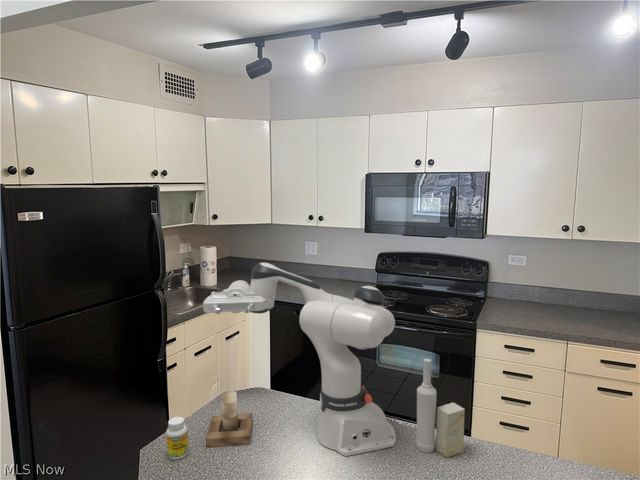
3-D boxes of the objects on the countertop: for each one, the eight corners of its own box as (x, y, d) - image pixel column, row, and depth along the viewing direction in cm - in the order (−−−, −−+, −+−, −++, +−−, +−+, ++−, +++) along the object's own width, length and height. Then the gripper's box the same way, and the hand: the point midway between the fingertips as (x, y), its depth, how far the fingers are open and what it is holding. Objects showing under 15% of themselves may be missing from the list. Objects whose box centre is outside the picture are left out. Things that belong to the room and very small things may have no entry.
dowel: (238, 428, 125) (237, 390, 123) (237, 437, 120) (236, 397, 119) (223, 429, 124) (222, 391, 123) (222, 438, 120) (220, 398, 118)
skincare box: (446, 458, 110) (448, 414, 108) (434, 449, 114) (435, 407, 112) (464, 451, 113) (465, 408, 111) (452, 442, 117) (453, 401, 115)
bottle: (420, 439, 118) (421, 354, 115) (437, 446, 115) (440, 359, 112) (412, 448, 114) (414, 361, 111) (430, 455, 111) (433, 365, 108)
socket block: (252, 420, 129) (252, 413, 128) (249, 444, 117) (249, 435, 116) (212, 423, 127) (212, 415, 127) (205, 447, 116) (205, 438, 115)
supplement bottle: (185, 445, 117) (183, 412, 115) (191, 455, 112) (189, 421, 111) (165, 452, 114) (163, 419, 112) (170, 462, 109) (168, 428, 108)
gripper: (266, 307, 149) (265, 319, 135) (207, 309, 147) (200, 321, 133) (265, 289, 148) (264, 300, 135) (206, 291, 146) (199, 302, 133)
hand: (232, 311), depth 134 cm, fingers open, 8 cm apart
